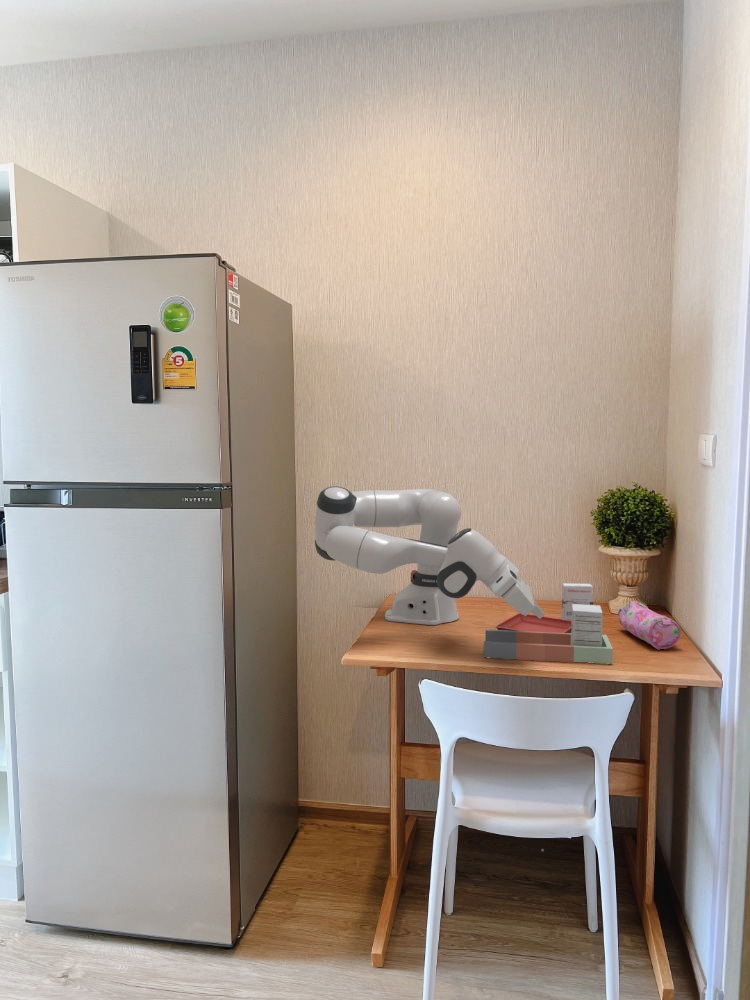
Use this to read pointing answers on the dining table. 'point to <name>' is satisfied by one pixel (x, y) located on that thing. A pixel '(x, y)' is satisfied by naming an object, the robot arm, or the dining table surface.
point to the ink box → (575, 597)
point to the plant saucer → (535, 624)
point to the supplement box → (586, 625)
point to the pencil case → (649, 625)
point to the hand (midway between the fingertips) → (542, 615)
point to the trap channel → (543, 647)
